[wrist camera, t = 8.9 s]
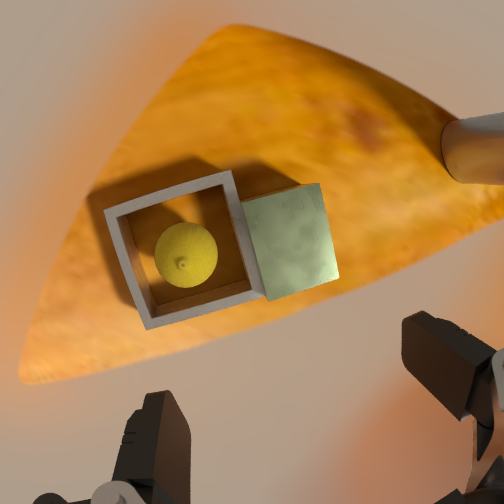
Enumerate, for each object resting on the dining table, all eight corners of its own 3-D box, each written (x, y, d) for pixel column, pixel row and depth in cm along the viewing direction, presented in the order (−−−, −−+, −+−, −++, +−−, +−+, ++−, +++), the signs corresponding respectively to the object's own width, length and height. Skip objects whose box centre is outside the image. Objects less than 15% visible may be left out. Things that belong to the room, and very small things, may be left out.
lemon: (150, 244, 28) (132, 262, 21) (190, 207, 28) (186, 211, 21) (187, 284, 30) (182, 314, 22) (227, 248, 30) (235, 267, 22)
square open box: (293, 156, 29) (310, 149, 24) (319, 265, 32) (339, 278, 27) (114, 208, 27) (97, 211, 22) (151, 316, 30) (143, 337, 25)
